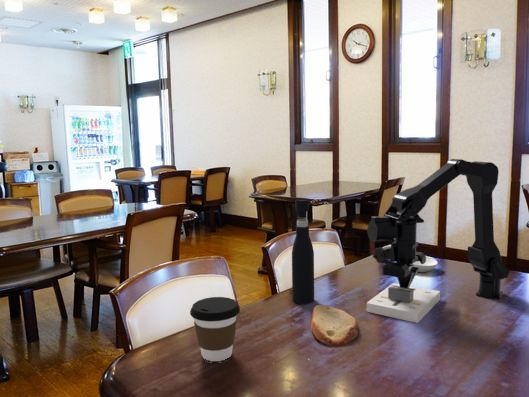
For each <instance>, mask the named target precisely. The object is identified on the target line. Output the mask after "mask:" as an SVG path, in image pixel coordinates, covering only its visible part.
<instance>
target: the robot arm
mask: <svg viewBox="0 0 529 397" xmlns="http://www.w3.org/2000/svg"><path fill="white" fill-rule="evenodd" d="M460 175H461V176H465V178H466V182H467V185H468V186H469V188H470V190H471V192H472V195H473V198H472V199H473V218H474V219H473V220H474V221H473V222H474V242H473V244H472V245H471V246H469V245H468V246H467V254H468V255H467V260H469V263H470V265H471V266H472V270H473V271H474V272H477V273H479V280H478V283H479V284H478V285H479V286H478V289H477V291H476V292H475V296H479V297H483V298H491V299H495V300H496V299H497V300H500V299H501V298H502V297H503V294H504V291H502V290H501V288H502V287H501V286H502V280H504V279H507V278H508V277H509V274H510V270H509V269H508V267H507V266H506V265H505V264H504V263H503V262H502V255H501V251H500V249H499V247H498V245H497V244H496V241H495V238H494V237H495V234H494V230H495V229H494V209H493V208H494V207H493V205H494V204H493V192H494V190H495V188H496V186H497V185H498V180H499V167H498V166H497V165H496V164H495V163H493V162H490V161H489V162H488V161H468V160H464V159H460V158H459V159H458V158H451V159H449V160H447V162H446V163H445V164H444V165H443V166H441V167H440V168H439V169H437V170H436V171H435V172H434V173H432V174H431V175H429V176H428V177H426V178H424V180H423V181H421V182H420V183H419V184H417V185H415V186H413V187H410V188H406V189H404V190H401V191H400V192H398V193H397V194H395V195H394V196H393V197H392V201H391V204H390V205H389V206H388V208H387V209H386V210H385V213H384V214H383V216H375V215H374V216H371V219H370V221H369V223H368V226H367V227H366V228H367V229H366V230H367V232H366V233H367V237H368V239H369V240H370V242H372V243H375V242H387V241H393V240H394V241H393V242H391V244H390V245H391V246H389V245H388V246H389V247H385V248H382V247H381V246H380V247H376V248H374V249H373V252H372V253H373V255H372V257H373V259H375V261H376V260H377V261H376V262H377V263H380V262H383V261H387V260H389V262H387V263H386V264H384V265H383V266H382V267H381V275H383V276H388V277H394V278H396V279H397V280H398V284H399V285H400V287H405V288H409V287H410V286H412V283H413V280H414V279H415V277H416V275H417V273H418V272H417V271H418V270H419V268H418V267H414V265H413V263H414V262H416V261H420V263H421V264H424V263H425V262H426V256H427V255H426V254H424V252H421V251H417V247H419V241H417V228H418V227H417V224H423V223H425V220H424V219H422V217H421V216H420V215H419V213H420V212H421V211H422V210H423V209H424V208H425V207H426V205H427V202H428V201H429V199H431V197H432V196H434V195H435V194H436V193H438V192H439V191H441V190H442V189H443V188H444V187H446V186H447V185H448V184H450V183H451V182H453V181H454V180H456V178H457V177H459V176H460Z"/></svg>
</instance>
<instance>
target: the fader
mask: <svg viewBox="0 0 529 397" xmlns="http://www.w3.org/2000/svg"><path fill="white" fill-rule="evenodd" d="M388 287H389V286H388ZM413 293H414V289H411V288H405V287H400V286H394V285H392V286H391V287H389V288H388V299H393V300H398V301H403V302H408V303H410V302H411V301H412V300H413Z"/></svg>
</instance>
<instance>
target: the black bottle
mask: <svg viewBox="0 0 529 397" xmlns="http://www.w3.org/2000/svg"><path fill="white" fill-rule="evenodd" d="M294 205H295V206H294V207H295V212H296V213H297V220H296V226H295V238H294V242H293V244H292V250H291V287H292V292H291V294H292V296H291V297H292V302H293V303H295V304H299V305H311V304H312V303H314V302H315V252H314V247H313V242H312V240H311V236H310V225H309V221H308V215H307V214H308V212H310V200H309V199H306V198H298V199H295V204H294Z"/></svg>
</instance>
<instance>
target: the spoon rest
mask: <svg viewBox="0 0 529 397" xmlns="http://www.w3.org/2000/svg"><path fill="white" fill-rule="evenodd" d="M389 246H391V244H388V245H385V246H383V247H382V248H385V247H389ZM425 256H426V262H425V263H424V264H421V263H420V261H416V262H414V263H413V265H414V267H418V268H419V270H418V271H417V273H427V272H430V271H432V270H434V269H435V268H437V266H438V265H439V263H438V261H437V260H436V259H434V258H433V257H431V256H427V255H425ZM375 261H376V262H377V260H376V259H375Z"/></svg>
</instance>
